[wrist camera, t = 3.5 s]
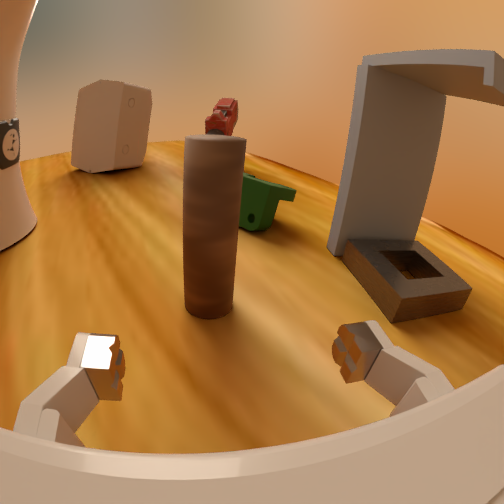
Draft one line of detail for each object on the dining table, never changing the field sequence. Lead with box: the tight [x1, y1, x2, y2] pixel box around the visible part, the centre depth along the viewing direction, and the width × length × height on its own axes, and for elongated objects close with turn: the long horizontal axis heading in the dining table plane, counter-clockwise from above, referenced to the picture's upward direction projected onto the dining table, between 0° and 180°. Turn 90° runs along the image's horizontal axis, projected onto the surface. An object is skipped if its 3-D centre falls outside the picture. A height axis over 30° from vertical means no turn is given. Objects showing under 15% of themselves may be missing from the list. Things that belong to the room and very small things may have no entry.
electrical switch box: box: [71, 80, 152, 173], centre depth 57 cm, size 15×15×20 cm
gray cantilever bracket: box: [327, 49, 504, 256], centre depth 22 cm, size 11×16×21 cm
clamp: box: [239, 172, 297, 231], centre depth 37 cm, size 12×6×9 cm, turn 40°
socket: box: [342, 239, 472, 323], centre depth 26 cm, size 10×10×2 cm
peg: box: [183, 135, 246, 319], centre depth 19 cm, size 4×4×12 cm
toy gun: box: [205, 98, 238, 136], centre depth 54 cm, size 4×20×15 cm, turn 175°
